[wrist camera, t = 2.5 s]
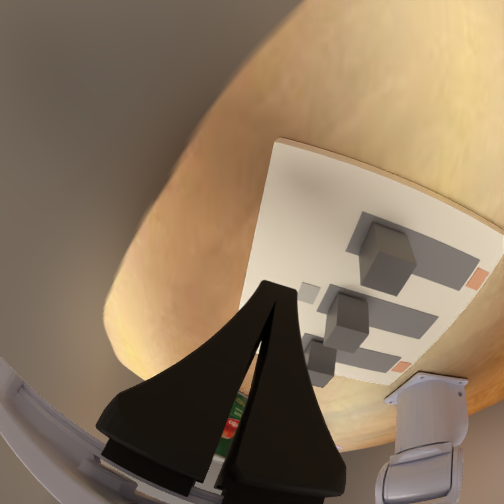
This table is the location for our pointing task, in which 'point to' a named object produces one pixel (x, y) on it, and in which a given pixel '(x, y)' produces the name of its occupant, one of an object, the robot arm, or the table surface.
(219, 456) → the canned tomato
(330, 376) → the gray short square block
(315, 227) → the switch panel
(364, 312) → the gray rectangular block
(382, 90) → the table surface
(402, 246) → the dark grey block
